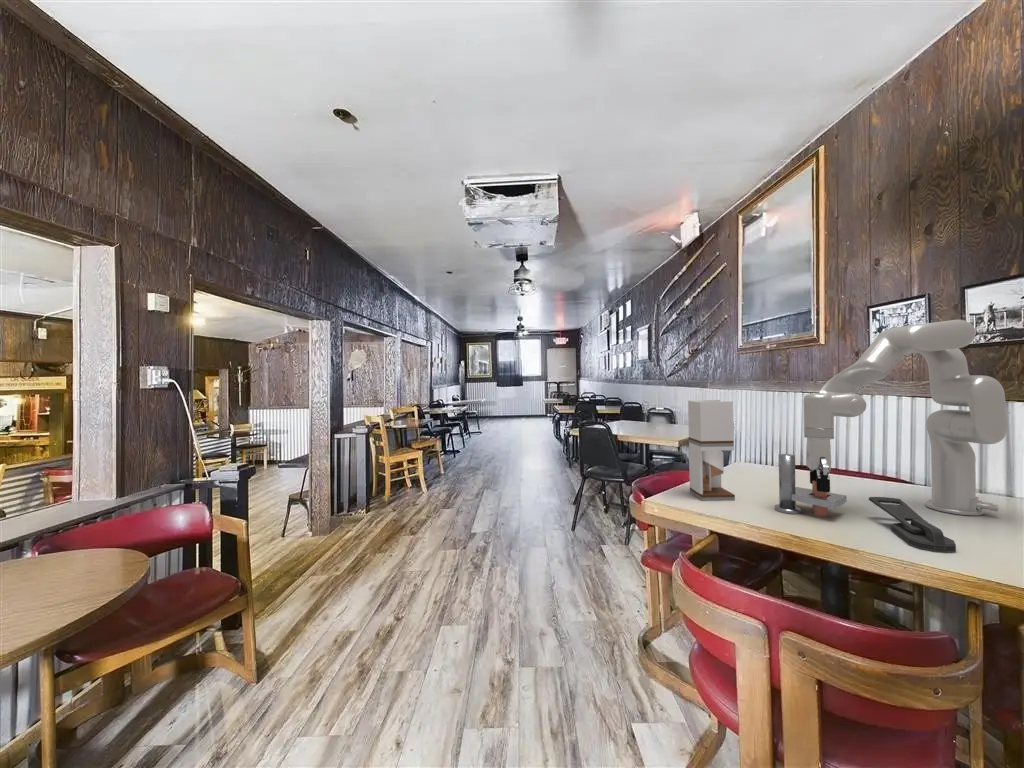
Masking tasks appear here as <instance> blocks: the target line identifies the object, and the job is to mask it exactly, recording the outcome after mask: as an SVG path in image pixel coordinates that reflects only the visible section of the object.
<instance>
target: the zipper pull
mask: <svg viewBox="0 0 1024 768" xmlns="http://www.w3.org/2000/svg"><path fill="white" fill-rule="evenodd" d="M868 501H870V502H871V503H872V504H873V505H875V506H876V507H878V508H879V509H881V510H883V511H884V512H885V513H887V515H890V517H892V518H894V519H896V520H897V521H898V522H893V523H891V532H892V533H893V535H896V537H898V538H899V539H901V540H902V541H903V542H904V543H905V544H907V545H908V546H910V547H912V548H914V549H915V548H916V549H917V550H919V551H920V550H921V551H926V552H933V553H943V554H954V553H956V552H957V545H956V542H955V540H953V539H951V538H949V537H946V536H945V535H944V533H943V530H941V529H940V528H939V527H937V526H935V525H934V524H932V523H930V522H928V521H927V520H926V519H925V518H923V517H921V516H920V515H919V514H918V513H917V512H916V511H914V509H913V508H911V507H910V506H909V505H908V504H907V503H906V502H905V501H903V500H902V499H901V498H896V497H885V496H883V497H882V496H869V497H868Z"/></svg>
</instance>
